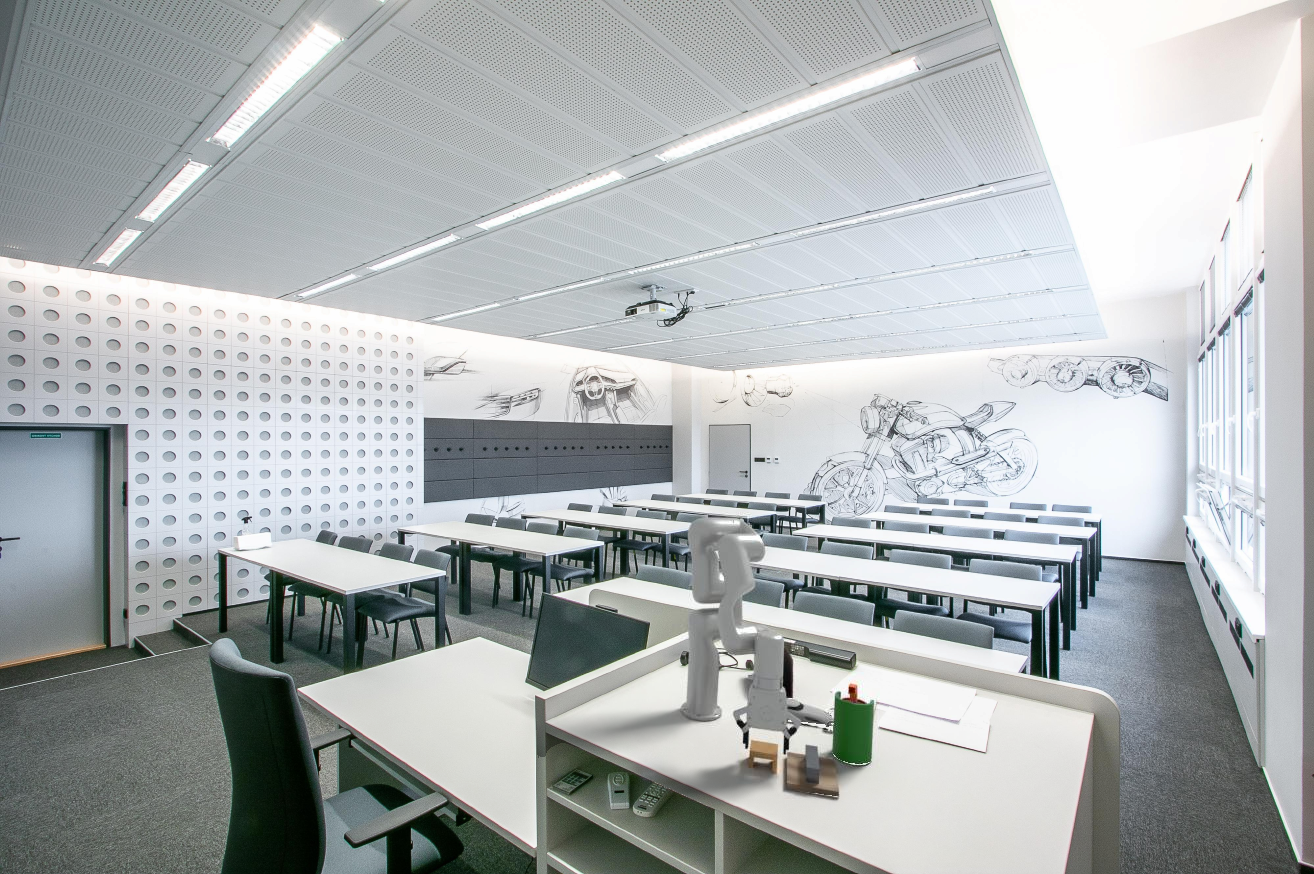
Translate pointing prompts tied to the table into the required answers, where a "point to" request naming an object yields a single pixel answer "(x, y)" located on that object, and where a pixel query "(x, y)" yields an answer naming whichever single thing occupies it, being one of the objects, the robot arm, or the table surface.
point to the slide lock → (763, 753)
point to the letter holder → (788, 673)
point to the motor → (852, 728)
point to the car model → (809, 713)
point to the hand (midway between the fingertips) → (765, 749)
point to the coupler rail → (812, 764)
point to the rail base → (798, 775)
